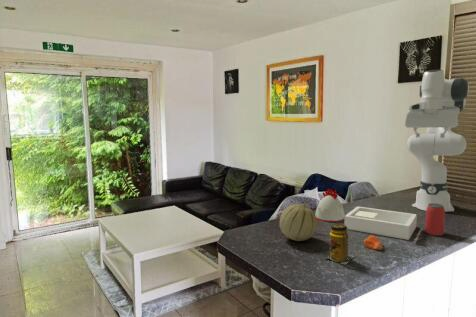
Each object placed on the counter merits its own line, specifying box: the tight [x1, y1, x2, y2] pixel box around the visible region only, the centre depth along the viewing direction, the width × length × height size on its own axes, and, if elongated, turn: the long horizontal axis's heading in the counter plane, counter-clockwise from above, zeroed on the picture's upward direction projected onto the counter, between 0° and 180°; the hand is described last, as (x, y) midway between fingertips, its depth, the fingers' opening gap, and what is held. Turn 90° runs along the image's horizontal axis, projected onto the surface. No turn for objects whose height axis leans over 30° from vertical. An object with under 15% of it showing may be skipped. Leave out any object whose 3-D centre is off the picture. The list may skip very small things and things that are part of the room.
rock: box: [363, 234, 384, 251], centre depth 123 cm, size 12×12×4 cm
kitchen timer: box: [314, 188, 346, 223], centre depth 157 cm, size 14×14×15 cm
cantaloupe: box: [279, 202, 318, 242], centre depth 132 cm, size 15×15×15 cm
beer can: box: [424, 203, 446, 237], centre depth 135 cm, size 7×7×12 cm
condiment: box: [329, 223, 355, 266], centre depth 114 cm, size 7×8×12 cm
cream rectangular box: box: [354, 211, 378, 220], centre depth 144 cm, size 8×8×5 cm
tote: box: [343, 206, 418, 241], centre depth 141 cm, size 18×25×6 cm
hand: (429, 137), depth 145 cm, fingers open, 8 cm apart
